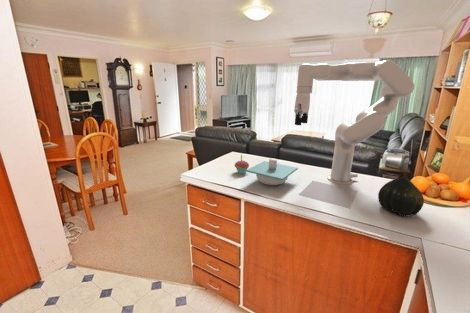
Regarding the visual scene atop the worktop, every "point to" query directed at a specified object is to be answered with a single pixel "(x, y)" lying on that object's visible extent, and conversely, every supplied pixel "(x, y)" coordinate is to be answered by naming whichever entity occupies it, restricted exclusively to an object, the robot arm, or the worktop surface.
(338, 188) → the mat
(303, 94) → the robot arm
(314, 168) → the worktop surface
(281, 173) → the lid
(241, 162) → the cupcake
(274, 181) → the cereal bowl
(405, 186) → the squash
